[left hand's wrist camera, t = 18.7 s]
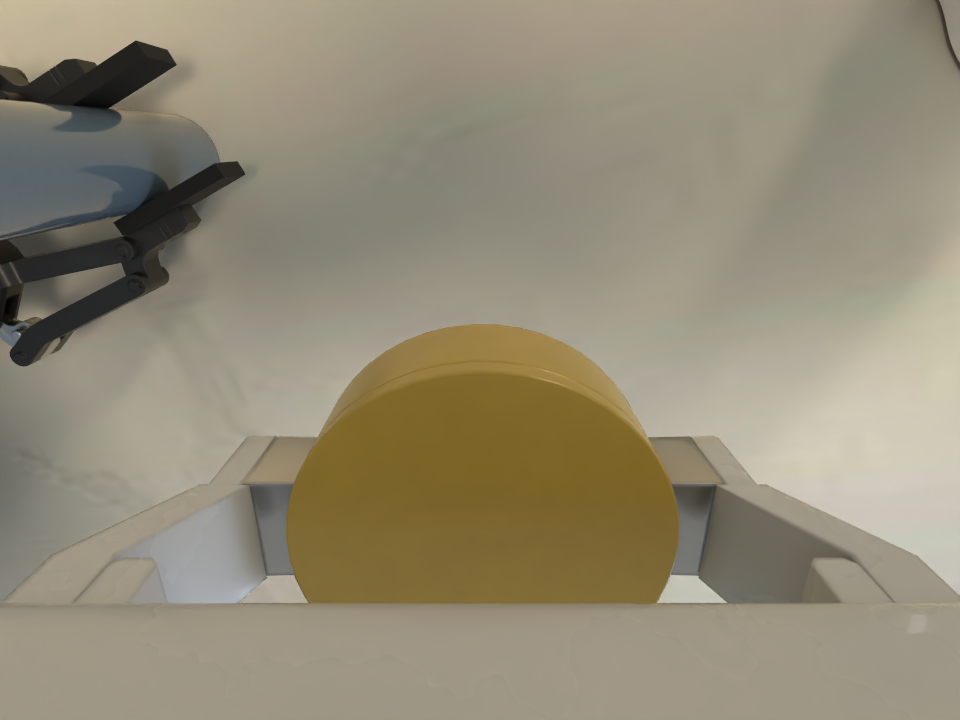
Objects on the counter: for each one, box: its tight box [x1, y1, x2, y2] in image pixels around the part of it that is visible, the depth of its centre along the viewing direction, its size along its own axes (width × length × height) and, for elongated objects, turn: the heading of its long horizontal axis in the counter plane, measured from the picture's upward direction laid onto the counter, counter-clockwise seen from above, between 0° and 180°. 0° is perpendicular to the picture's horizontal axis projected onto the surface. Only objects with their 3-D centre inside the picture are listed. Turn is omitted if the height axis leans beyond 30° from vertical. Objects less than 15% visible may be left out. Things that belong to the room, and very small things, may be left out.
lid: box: [286, 324, 679, 603], centre depth 9 cm, size 6×6×2 cm
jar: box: [0, 99, 219, 241], centre depth 25 cm, size 5×5×20 cm
